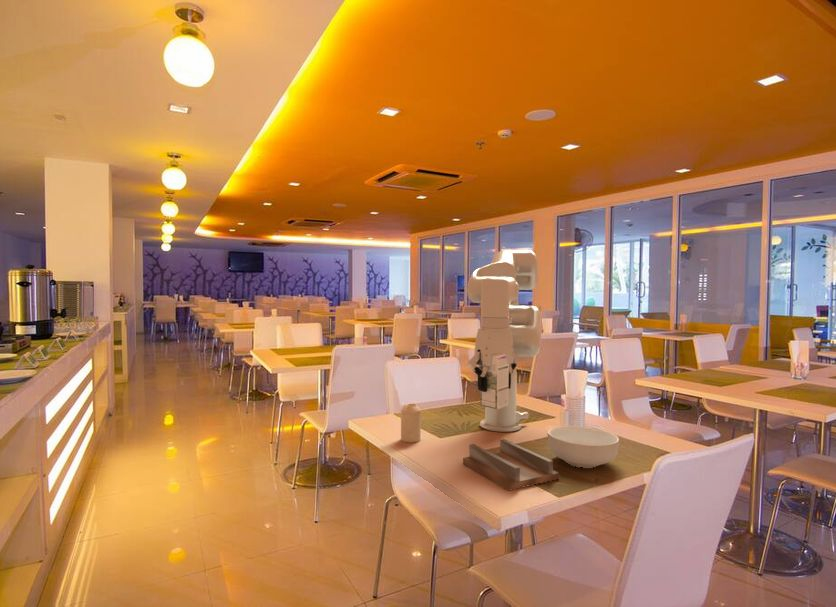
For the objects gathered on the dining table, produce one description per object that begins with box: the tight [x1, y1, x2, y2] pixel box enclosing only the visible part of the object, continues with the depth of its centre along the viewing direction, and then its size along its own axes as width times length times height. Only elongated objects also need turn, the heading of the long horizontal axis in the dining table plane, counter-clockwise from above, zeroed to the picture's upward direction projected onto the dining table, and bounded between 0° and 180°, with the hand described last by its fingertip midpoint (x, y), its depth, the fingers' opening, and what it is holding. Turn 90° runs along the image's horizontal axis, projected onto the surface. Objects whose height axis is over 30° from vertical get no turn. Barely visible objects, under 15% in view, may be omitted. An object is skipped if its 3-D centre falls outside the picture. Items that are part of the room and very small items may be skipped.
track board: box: [462, 438, 560, 491], centre depth 117 cm, size 14×18×4 cm
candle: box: [400, 403, 422, 444], centre depth 141 cm, size 6×6×10 cm
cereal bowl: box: [547, 425, 620, 469], centre depth 123 cm, size 17×17×7 cm
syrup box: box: [479, 353, 509, 409], centre depth 134 cm, size 6×6×14 cm
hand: (494, 388), depth 135 cm, fingers closed on syrup box, 7 cm apart
